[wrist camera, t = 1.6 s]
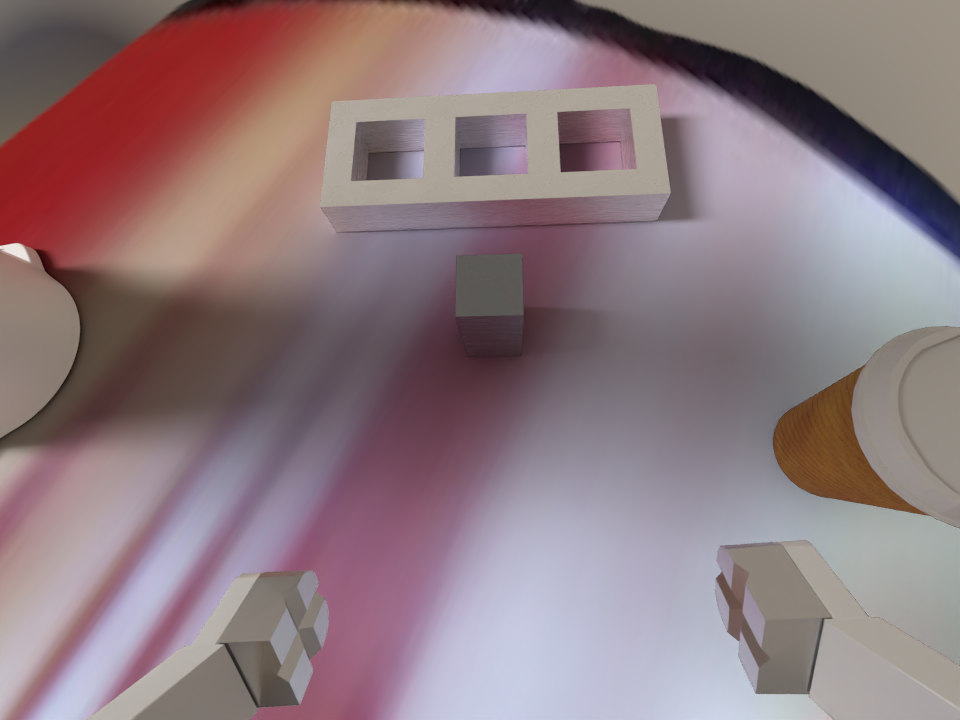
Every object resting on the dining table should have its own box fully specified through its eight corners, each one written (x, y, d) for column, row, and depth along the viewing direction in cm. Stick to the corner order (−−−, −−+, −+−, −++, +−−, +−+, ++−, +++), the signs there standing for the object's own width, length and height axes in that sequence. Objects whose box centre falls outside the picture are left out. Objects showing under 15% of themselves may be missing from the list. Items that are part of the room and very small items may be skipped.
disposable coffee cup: (836, 556, 30) (1038, 590, 18) (717, 443, 32) (831, 410, 21) (928, 455, 31) (1170, 428, 20) (808, 353, 34) (961, 277, 22)
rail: (336, 232, 39) (320, 207, 36) (346, 133, 42) (332, 101, 39) (656, 220, 38) (670, 193, 34) (643, 118, 40) (655, 84, 37)
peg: (467, 356, 35) (455, 316, 28) (468, 307, 36) (456, 255, 29) (521, 355, 35) (523, 314, 27) (520, 305, 36) (522, 253, 29)
